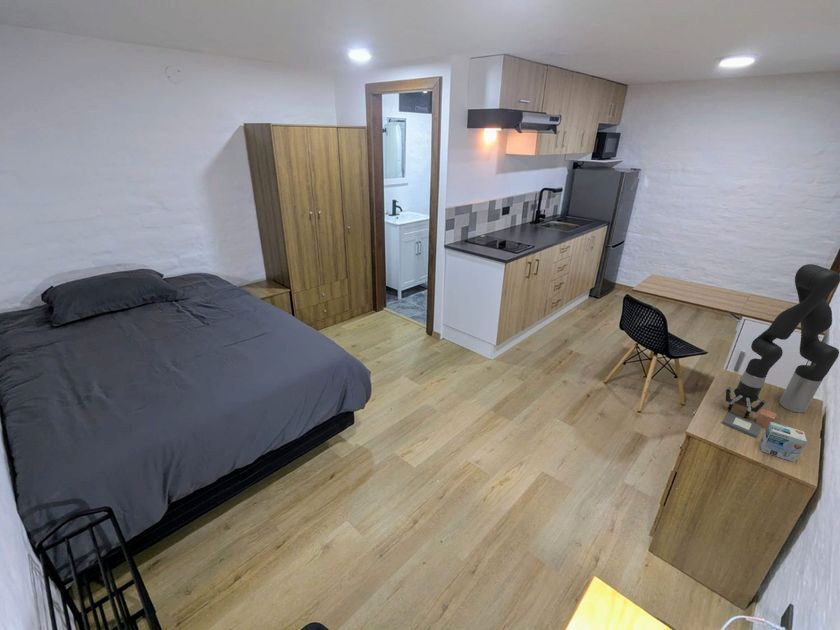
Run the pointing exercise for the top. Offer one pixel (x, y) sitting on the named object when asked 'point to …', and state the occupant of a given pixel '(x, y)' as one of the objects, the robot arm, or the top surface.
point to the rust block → (765, 418)
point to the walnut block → (739, 409)
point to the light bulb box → (783, 441)
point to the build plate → (742, 425)
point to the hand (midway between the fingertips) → (737, 413)
